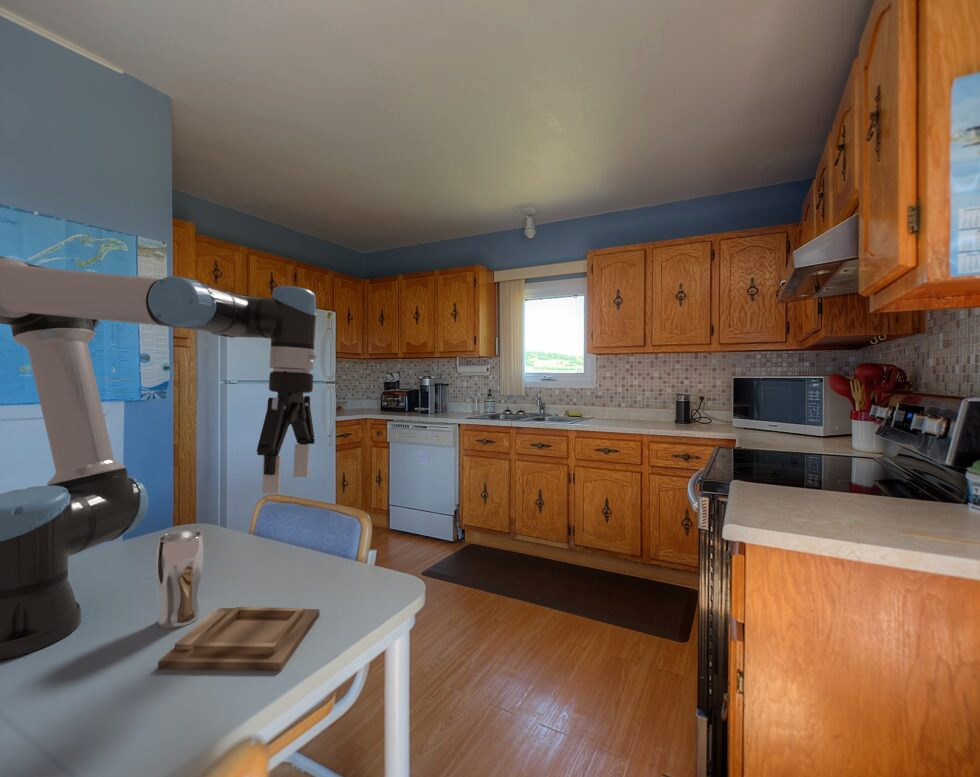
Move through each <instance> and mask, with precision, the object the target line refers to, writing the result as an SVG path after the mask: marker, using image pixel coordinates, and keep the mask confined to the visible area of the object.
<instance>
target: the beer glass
mask: <svg viewBox="0 0 980 777" xmlns="http://www.w3.org/2000/svg"><path fill="white" fill-rule="evenodd" d="M203 534H204V533H203V532H202V531H201V530H197V529H183V530H177V531H171V532H168V533H165V534H163V535H161V536H159V537H158V539H157V548H156V560H155V563H156V564H155V565H156V566H155V567H156V568H155V570H156V577H157V584H158V588H159V594H160V598H161V600H160V601H161V607H160V608H161V609H160V613H159V616H158V624H157V625H158V626H159V627H160V628H161V629H166V630H167V629H177V628H181V627H185V626H187V625H190V624H192V623H194V622H196V621H197V620H198V618H200V615H201V614H200V612H201V611H200V607H199V602H198V592H199V586H200V581H201V577H202V572H203V566H204V555H205V554H204V553H205V552H204V540H203Z"/></svg>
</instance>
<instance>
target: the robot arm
mask: <svg viewBox="0 0 980 777" xmlns="http://www.w3.org/2000/svg"><path fill="white" fill-rule="evenodd" d="M316 301H317V300H316V295H315V293H314V292H313V291H311V290H310V289H307V288H303V287H299V286H293V285H291V286H290V285H281V286H275V287H274V288H273V291H272V294H271V297H251V296H250V297H249V296H243V295H239V294H236V293H234V292H233V293H232V292H230V291H227V290H223V289H220V288H217V287H215V286H211V285H208V284H204V283H202V282H200V281H198V280H197V279H193V278H188V277H181V276H176V275H173V276H171V275H169V276H166V277H163V278H157V277H147V276H146V277H145V276H134V275H124V274H113V273H105V272H104V273H103V272H93V271H92V272H91V271H81V270H69V269H59V268H49V267H44V266H41V265H40V266H39V265H37V264H32V263H28V262H25V261H21V260H20V259H19V260H18V259H16V258H10V257H5V256H1V255H0V324H2V325H9V326H10V329H11V333H12V337H13V341H14V342H16V343H18V344H19V345H21V346H22V347H25V348H26V349H27V351H28V356H29V360H30V364H31V365H30V366H31V369H32V370H31V371H32V373H33V377H34V383H35V386H36V391H37V395H38V399H39V404H40V409H41V413H42V418H43V422H44V426H45V431H46V434H47V439H48V443H49V447H50V451H51V456H52V461H53V464H54V465H53V466H54V470H55V474H54V475H53V476H52V477H51V479H50V480H49V481H48V482H47V483H46V485H40V486H39V485H38V486H31V487H27V488H25V489H15V490H10V491H6V492H2V493H0V661H3V660H7V659H11V658H15V657H19V656H23V655H25V654H29V653H31V652H34V651H35V652H36V651H37V650H40V649H42V648H45V647H47V646H49V645H52V644H53V643H56V642H58V641H60V640H62V639H64V638H66V637H68V636H69V635H70V634H71V633H73V632H74V631H75V630H76V629H77V628H79V626H80V625H81V622H82V608H81V605H80V603H79V602H78V601H76V597H75V594H74V591H73V588H72V586H71V584H70V582H69V557H70V556H73V555H75V554H79V553H81V552H83V551H85V550H89V549H91V548H94V547H95V546H99V545H101V544H104V543H106V542H107V543H108V542H110V541H115V540H117V539H119V538H120V537H122V536H124V535H125V534H129V532H131V531H133V530H134V529H136V528H137V526H140V523H141V522H142V520H143V519H144V518H145V516H146V514H147V510H148V507H149V495H148V492H147V489H146V487H145V486H144V484H143V483H142V482H139V480H138V479H137V478H135V477H132V476H129V475H128V474H129V473H128V471H127V467H126V465H124V464H123V463H120V462H118V461H116V460H115V458H114V453H113V449H112V444H111V440H110V435H109V432H108V431H109V430H108V427H107V423H106V419H105V418H106V417H105V415H104V409H103V406H102V401H101V396H100V393H99V387H98V385H97V384H98V383H97V380H96V375H95V370H94V366H93V362H92V357H91V354H90V349H89V342H90V341H91V340H93V339H94V337H95V336H96V331H95V329H96V328H97V327H99V325H100V324H101V322H102V321H109V322H119V323H131V324H140V325H141V324H142V325H150V326H151V325H152V326H163V327H167V328H169V327H170V328H177V329H178V328H180V329H187V330H188V329H190V330H196V331H197V330H198V331H202V332H209V333H210V334H212V335H213V336H217V337H218V336H219V337H224V338H230V339H231V338H232V339H233V338H254V339H255V338H256V339H257V338H258V339H259V338H260V339H261V338H262V339H264V338H265V339H270V354H269V368H270V369H272V371H271V372H270V373H269V378H268V381H269V382H268V390H269V391H270V392H275V393H277V397H268V399H267V408H266V413H265V416H264V417H265V418H264V420H263V424H262V429H261V432H260V435H259V440H258V443H257V447H256V455H258V456H263V463H262V464H263V465H262V466H263V467H262V486H261V487H262V489H261V493H262V494H279V493H281V479H282V478H281V474H282V471H281V470H282V454H280V452H281V449H282V446H283V443H284V441H285V437H286V435H287V432H288V429H289V427H290V425H291V427H292V431H293V434H294V437H295V440H296V443H295V444H294V451H293V452H294V455H293V477H294V478H295V477H296V478H308V477H309V471H310V470H309V468H310V467H309V465H310V463H309V462H310V446H311V445H315V439H316V438H315V432H314V426H313V417H312V411H311V397H310V395H304V394H305V393H306V394H309V393H312V392H313V390H314V387H313V386H314V374H313V373H311V372H310V371H312V370H314V360H316V359H317V355H316V354H315V336H316V335H315V334H316V321H317V320H316V318H317V315H318V314H317V302H316Z"/></svg>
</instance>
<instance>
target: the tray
mask: <svg viewBox="0 0 980 777" xmlns="http://www.w3.org/2000/svg"><path fill="white" fill-rule="evenodd" d="M319 618H320V608H314V609H312V608H305V607H270V606H269V607H263V606H262V607H261V606H259V607H258V606H256V607H255V606H253V607H252V606H247V607H246V606H236V607H220V608H218V609H217V610H216V611H212V612H211V613H209V614H208V615H207V616H206V617H204V618H203V619H202V620H201V621H200V622H199V623H198V624H196V626H194V627H193V628H192V629H190V630H189V632H187V633H186V634H184V636H182V637H181V638H179V640H178V641H177V642H176V643H174V647H172V649H170V650H169V651H168V652H167V653H166V654H164V656H163V657H161V658H160V659H159V660H158V661H157V670H177V671H178V670H183V671H186V670H187V671H188V670H190V671H195V670H198V671H264V672H265V671H267V672H268V671H271V672H272V671H274V672H276V671H277V672H278V671H279V672H282V670H283V669H284V667H285V666H286V665H287V663H288V661H289V660H291V658H292V656H293V654H294V653H295V651H296V650H297V649H298V647H299V646H300V645H301V643H302V641H303V640H304V638H305V637H306V636H307V634H308V633H309V632H310V630H311V629H312V628H313V626H314V624H316V622H317V620H318V619H319Z"/></svg>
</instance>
